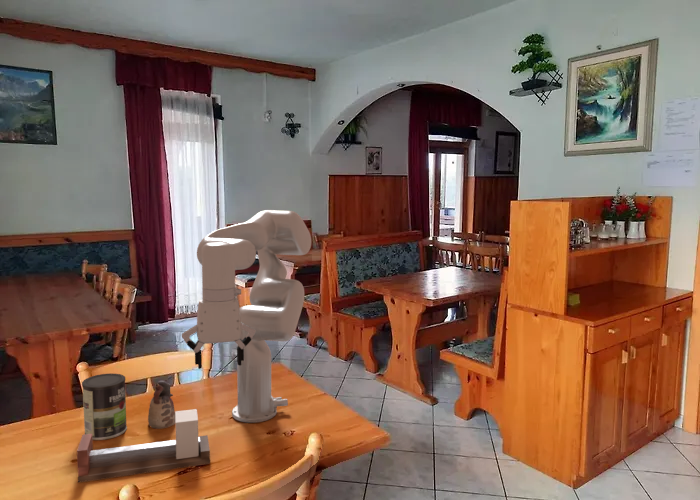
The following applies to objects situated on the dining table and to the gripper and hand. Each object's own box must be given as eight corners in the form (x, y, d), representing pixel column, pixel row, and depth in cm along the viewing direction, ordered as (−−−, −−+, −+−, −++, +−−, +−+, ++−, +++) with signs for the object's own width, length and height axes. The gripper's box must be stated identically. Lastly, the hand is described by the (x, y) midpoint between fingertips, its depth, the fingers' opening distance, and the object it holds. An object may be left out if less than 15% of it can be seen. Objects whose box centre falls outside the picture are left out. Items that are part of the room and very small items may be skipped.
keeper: (197, 443, 131) (196, 409, 130) (198, 456, 125) (198, 420, 124) (176, 446, 130) (175, 411, 128) (176, 459, 124) (175, 422, 122)
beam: (199, 448, 129) (199, 436, 129) (200, 453, 127) (200, 441, 127) (91, 463, 122) (90, 450, 121) (89, 468, 120) (89, 455, 119)
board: (207, 445, 133) (207, 419, 132) (210, 463, 125) (209, 435, 124) (84, 462, 124) (83, 433, 124) (77, 482, 116) (76, 452, 115)
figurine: (181, 419, 148) (180, 378, 146) (165, 430, 141) (164, 387, 139) (159, 415, 150) (158, 374, 148) (142, 426, 143) (141, 383, 142)
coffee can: (135, 424, 144) (133, 374, 142) (110, 442, 134) (108, 389, 132) (101, 420, 146) (99, 371, 144) (75, 438, 136) (72, 385, 134)
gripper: (253, 290, 131) (253, 357, 134) (180, 293, 126) (181, 363, 128) (258, 296, 124) (258, 367, 126) (180, 299, 119) (181, 374, 121)
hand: (219, 365), depth 127 cm, fingers open, 8 cm apart
